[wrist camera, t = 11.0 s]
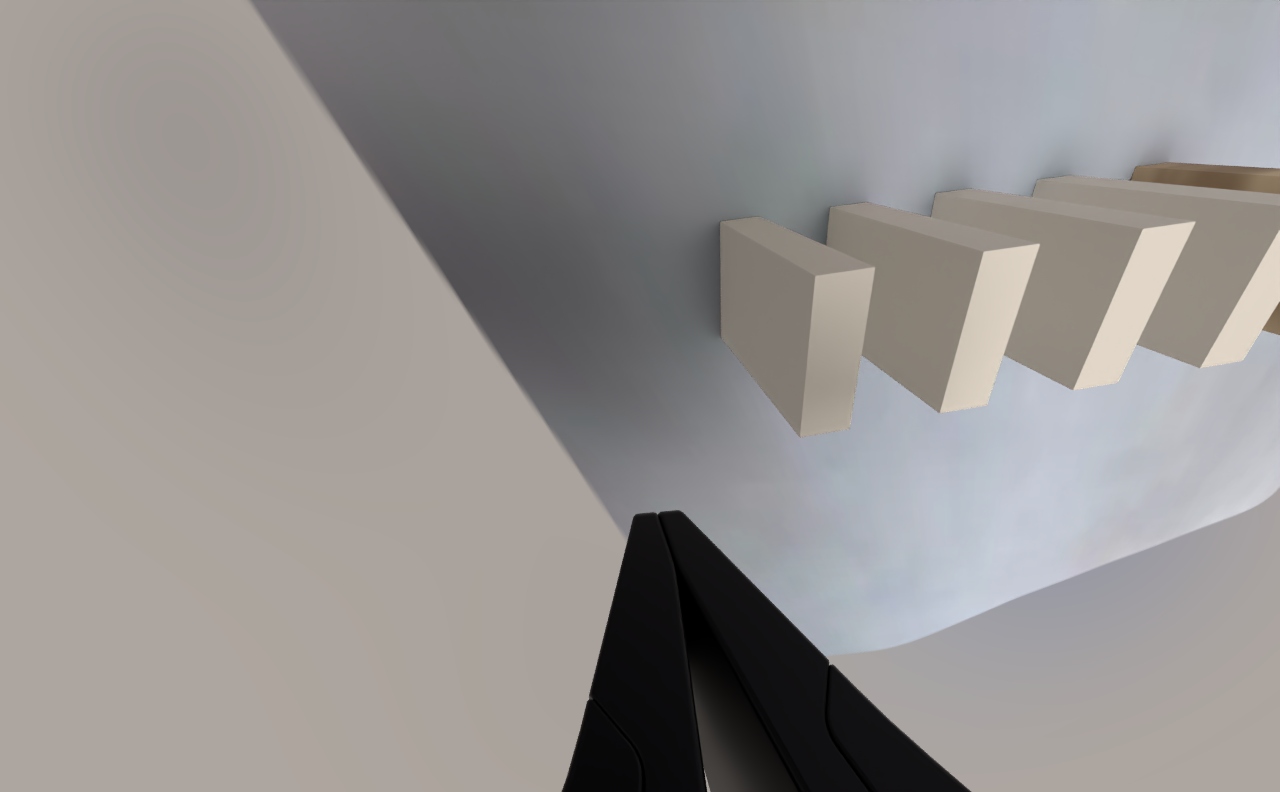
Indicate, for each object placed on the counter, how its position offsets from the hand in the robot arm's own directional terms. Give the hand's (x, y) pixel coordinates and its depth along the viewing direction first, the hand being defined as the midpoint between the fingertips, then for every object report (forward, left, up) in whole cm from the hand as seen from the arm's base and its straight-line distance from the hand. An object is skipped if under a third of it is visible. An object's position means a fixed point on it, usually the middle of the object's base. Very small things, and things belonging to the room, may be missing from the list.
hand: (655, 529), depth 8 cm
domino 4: (0, +20, -13) cm, 24 cm away
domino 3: (0, +15, -13) cm, 20 cm away
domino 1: (0, +6, -13) cm, 14 cm away
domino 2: (0, +11, -13) cm, 17 cm away
